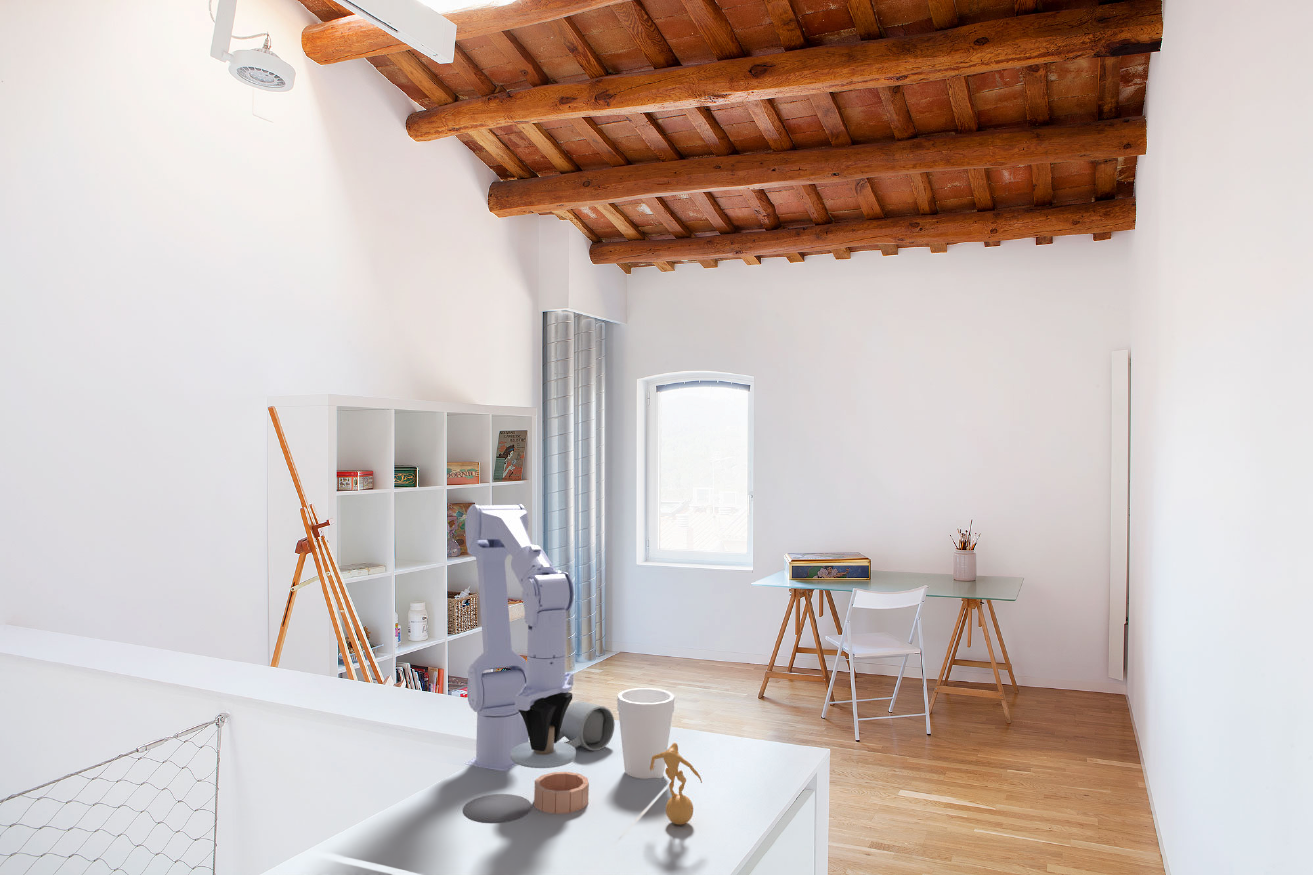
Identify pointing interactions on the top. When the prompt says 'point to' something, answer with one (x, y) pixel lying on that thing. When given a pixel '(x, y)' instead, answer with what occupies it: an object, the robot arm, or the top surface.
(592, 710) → the ceramic mug
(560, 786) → the bowl
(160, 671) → the top surface
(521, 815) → the mat
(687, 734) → the top surface
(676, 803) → the figurine
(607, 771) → the top surface
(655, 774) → the foam cup
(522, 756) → the lid
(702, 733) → the top surface
